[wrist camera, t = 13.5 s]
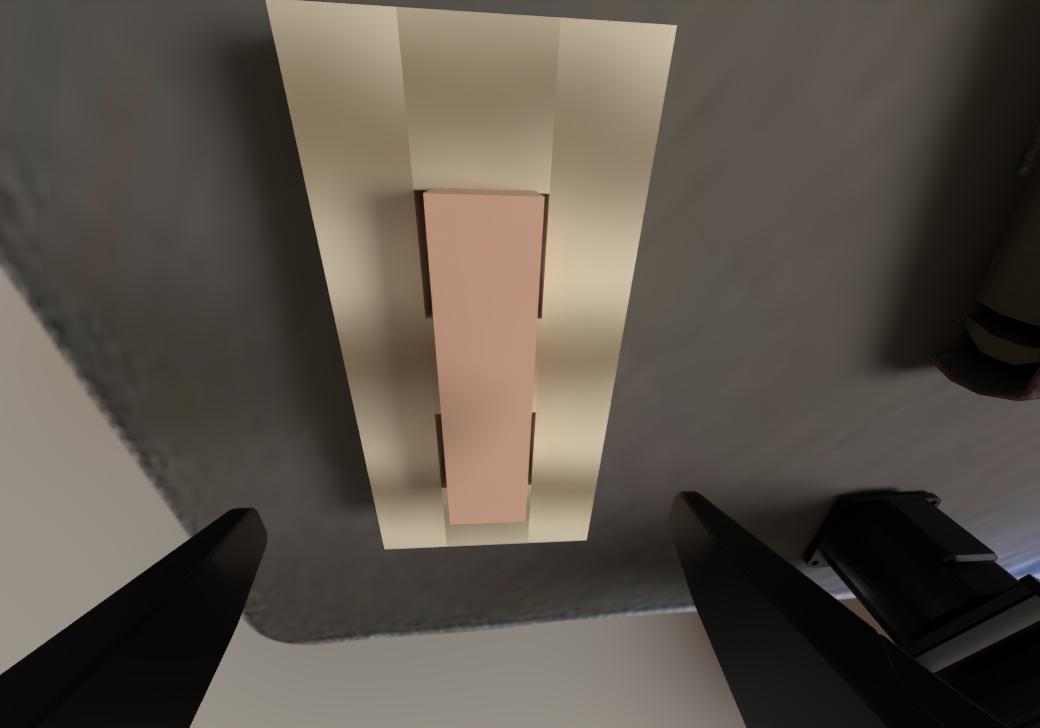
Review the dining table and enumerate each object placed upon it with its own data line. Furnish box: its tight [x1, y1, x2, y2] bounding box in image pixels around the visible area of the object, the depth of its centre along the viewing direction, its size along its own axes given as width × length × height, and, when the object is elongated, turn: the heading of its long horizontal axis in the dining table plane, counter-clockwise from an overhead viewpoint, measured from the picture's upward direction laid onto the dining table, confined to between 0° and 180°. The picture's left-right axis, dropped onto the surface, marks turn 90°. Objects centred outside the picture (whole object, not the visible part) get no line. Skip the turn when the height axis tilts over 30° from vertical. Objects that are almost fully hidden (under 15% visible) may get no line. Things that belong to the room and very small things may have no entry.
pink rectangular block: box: [423, 188, 545, 525], centre depth 14 cm, size 12×3×5 cm, turn 178°
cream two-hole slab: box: [266, 0, 677, 549], centre depth 15 cm, size 20×10×3 cm, turn 178°
